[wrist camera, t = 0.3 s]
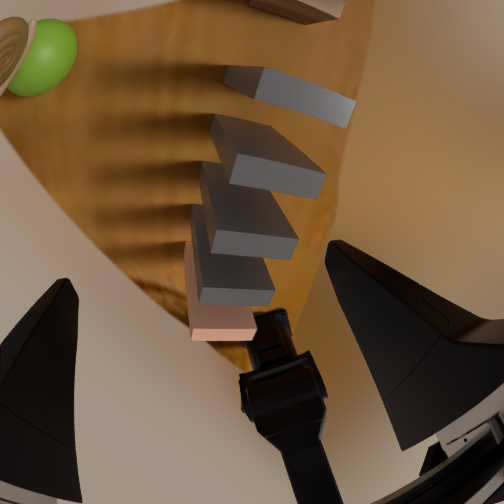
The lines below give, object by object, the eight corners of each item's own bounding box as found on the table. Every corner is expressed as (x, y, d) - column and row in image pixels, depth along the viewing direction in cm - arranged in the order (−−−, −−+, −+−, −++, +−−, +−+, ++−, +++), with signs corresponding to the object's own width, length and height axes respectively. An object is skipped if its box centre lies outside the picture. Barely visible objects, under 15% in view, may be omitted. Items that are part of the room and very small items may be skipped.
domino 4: (239, 224, 25) (268, 305, 18) (190, 218, 23) (198, 303, 16) (243, 210, 24) (275, 290, 17) (193, 203, 22) (202, 287, 15)
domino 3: (251, 185, 23) (290, 259, 15) (198, 177, 21) (210, 253, 14) (256, 170, 22) (299, 239, 15) (202, 160, 20) (216, 229, 13)
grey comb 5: (280, 97, 18) (345, 128, 11) (222, 83, 17) (254, 99, 10) (285, 81, 18) (355, 101, 10) (228, 65, 16) (264, 66, 9)
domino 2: (265, 142, 20) (316, 199, 13) (209, 131, 19) (229, 183, 12) (270, 126, 20) (327, 174, 12) (214, 113, 18) (237, 153, 11)
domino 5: (229, 257, 27) (251, 340, 20) (183, 253, 25) (190, 340, 18) (233, 245, 26) (257, 329, 19) (185, 241, 24) (193, 328, 17)
